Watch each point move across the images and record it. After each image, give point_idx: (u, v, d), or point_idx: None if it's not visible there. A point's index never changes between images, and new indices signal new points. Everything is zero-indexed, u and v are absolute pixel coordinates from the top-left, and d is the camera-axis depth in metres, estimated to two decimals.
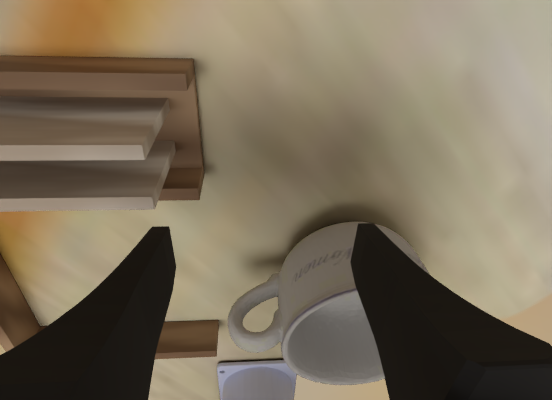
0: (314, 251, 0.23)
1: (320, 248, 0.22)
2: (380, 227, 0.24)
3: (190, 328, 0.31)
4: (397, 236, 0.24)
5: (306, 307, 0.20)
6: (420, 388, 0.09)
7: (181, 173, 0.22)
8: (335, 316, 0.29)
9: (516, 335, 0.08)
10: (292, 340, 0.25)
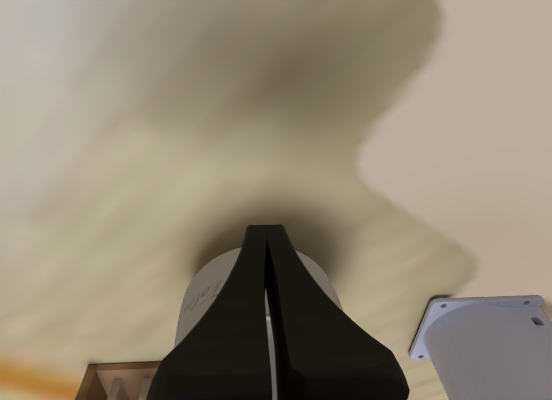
0: None
1: None
2: None
3: None
4: (189, 287, 0.22)
5: None
6: (283, 395, 0.09)
7: None
8: None
9: (363, 341, 0.08)
10: None
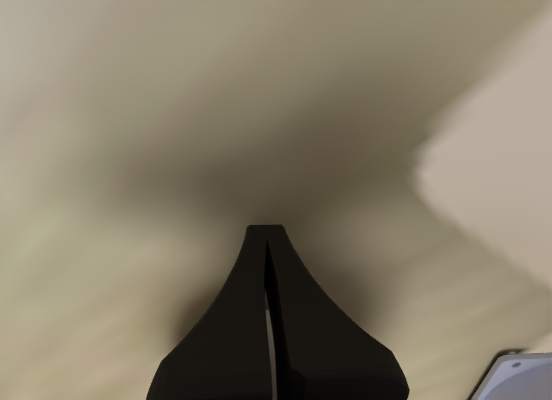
0: None
1: None
2: None
3: None
4: None
5: None
6: (283, 395, 0.09)
7: None
8: None
9: (363, 341, 0.08)
10: None
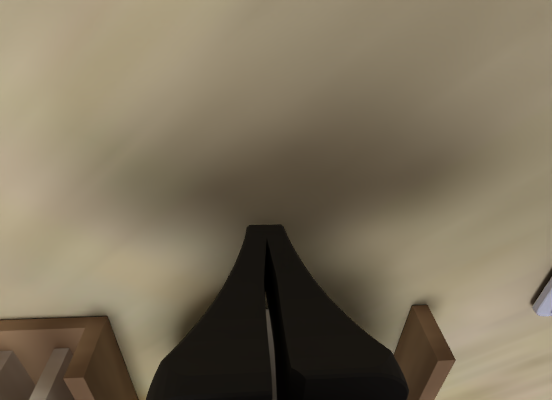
0: None
1: None
2: None
3: (407, 347, 0.19)
4: None
5: None
6: (283, 395, 0.09)
7: None
8: None
9: (362, 341, 0.08)
10: None
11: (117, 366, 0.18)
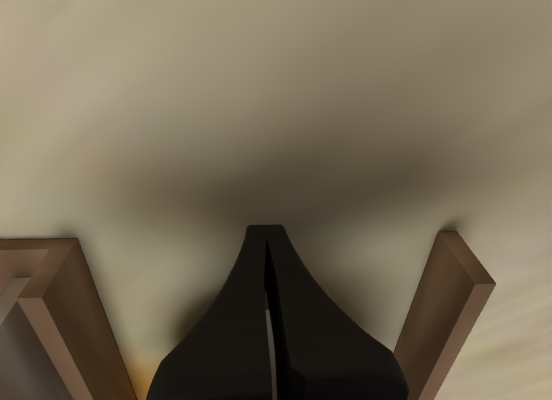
0: None
1: None
2: None
3: (431, 283, 0.16)
4: None
5: None
6: (283, 395, 0.09)
7: None
8: None
9: (363, 341, 0.08)
10: None
11: (91, 303, 0.16)
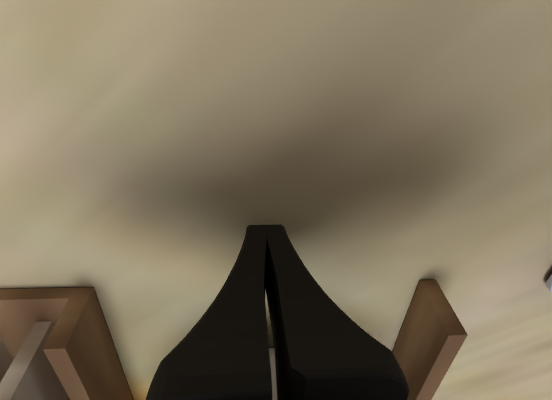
0: None
1: None
2: None
3: (413, 325, 0.18)
4: None
5: None
6: (283, 395, 0.09)
7: None
8: None
9: (363, 341, 0.08)
10: None
11: (104, 343, 0.17)
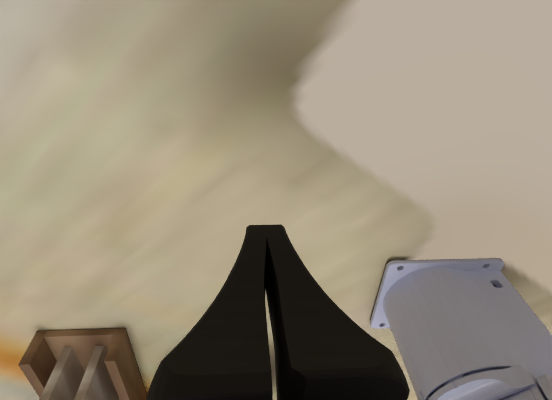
0: None
1: None
2: None
3: None
4: None
5: None
6: (283, 395, 0.09)
7: None
8: None
9: (363, 341, 0.08)
10: None
11: (130, 356, 0.32)
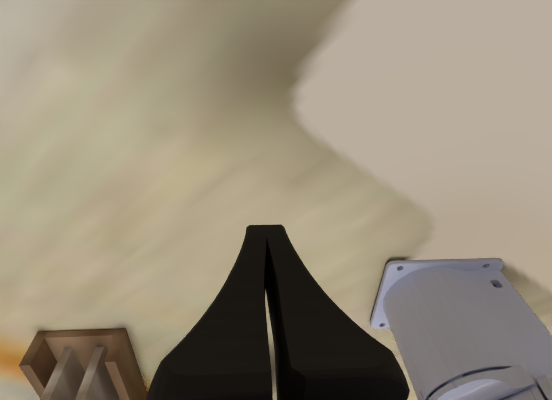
0: None
1: None
2: None
3: None
4: None
5: None
6: (283, 395, 0.09)
7: None
8: None
9: (363, 341, 0.08)
10: None
11: (130, 357, 0.32)
